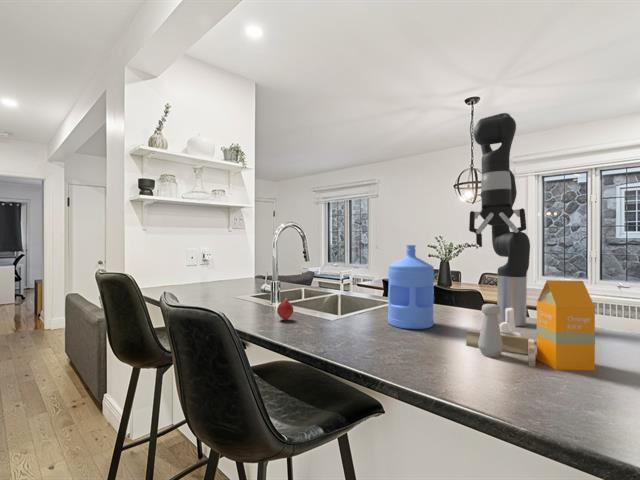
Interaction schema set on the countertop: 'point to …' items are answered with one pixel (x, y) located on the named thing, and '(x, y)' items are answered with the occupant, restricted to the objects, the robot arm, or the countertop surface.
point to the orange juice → (566, 326)
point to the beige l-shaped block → (508, 344)
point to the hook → (509, 324)
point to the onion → (285, 309)
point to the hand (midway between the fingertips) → (497, 246)
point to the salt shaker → (490, 332)
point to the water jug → (410, 292)
